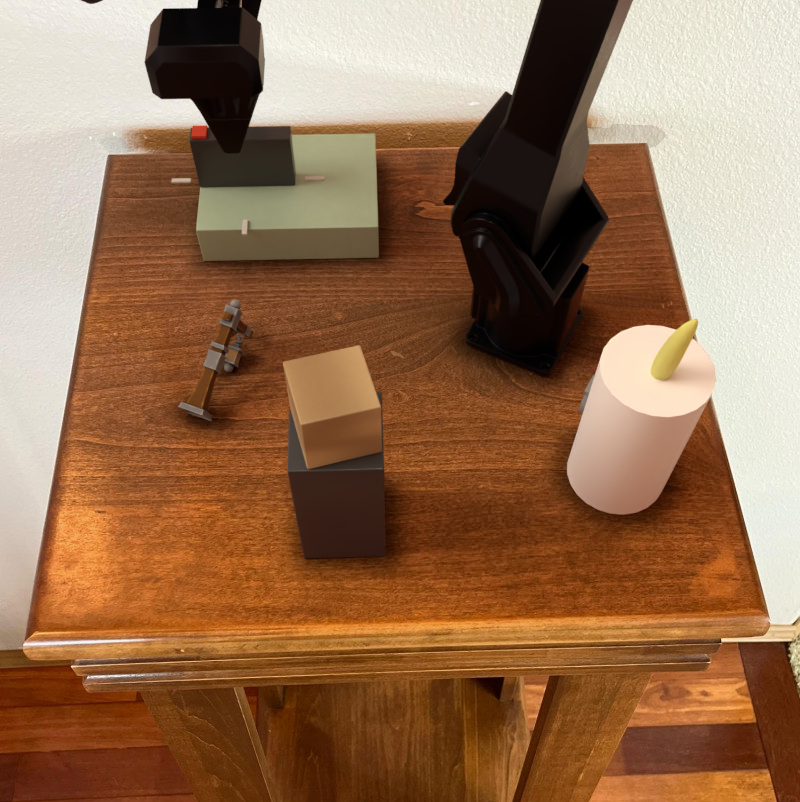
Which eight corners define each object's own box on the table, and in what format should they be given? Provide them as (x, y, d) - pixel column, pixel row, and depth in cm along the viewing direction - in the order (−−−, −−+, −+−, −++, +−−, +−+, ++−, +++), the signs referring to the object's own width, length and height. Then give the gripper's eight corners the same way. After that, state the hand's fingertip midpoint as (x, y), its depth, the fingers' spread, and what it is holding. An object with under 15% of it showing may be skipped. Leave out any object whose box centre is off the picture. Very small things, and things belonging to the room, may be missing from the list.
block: (362, 392, 49) (360, 344, 45) (382, 452, 47) (381, 406, 43) (290, 409, 48) (282, 361, 45) (307, 470, 46) (300, 425, 43)
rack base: (375, 160, 72) (375, 125, 69) (379, 263, 67) (378, 231, 64) (186, 163, 72) (177, 129, 69) (174, 268, 66) (164, 235, 64)
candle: (585, 416, 60) (639, 248, 47) (678, 455, 59) (760, 293, 46) (548, 488, 58) (594, 331, 44) (644, 530, 56) (721, 381, 43)
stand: (383, 486, 58) (381, 391, 49) (385, 556, 55) (384, 469, 46) (305, 488, 57) (289, 393, 49) (303, 558, 55) (287, 471, 46)
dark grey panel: (295, 172, 67) (290, 122, 63) (295, 185, 66) (289, 136, 62) (201, 174, 67) (189, 124, 63) (199, 187, 66) (188, 137, 62)
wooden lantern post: (266, 322, 63) (245, 299, 58) (225, 429, 62) (201, 414, 58) (243, 315, 63) (220, 291, 59) (202, 421, 63) (176, 405, 58)
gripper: (61, -242, 51) (131, 24, 65) (4, -56, 43) (99, 206, 56) (256, -244, 52) (285, 21, 65) (240, -59, 43) (277, 202, 57)
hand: (236, 106), depth 61 cm, fingers open, 9 cm apart
